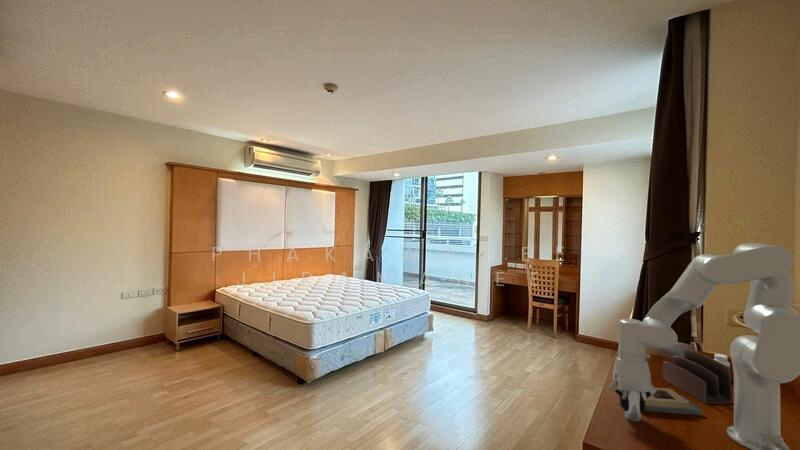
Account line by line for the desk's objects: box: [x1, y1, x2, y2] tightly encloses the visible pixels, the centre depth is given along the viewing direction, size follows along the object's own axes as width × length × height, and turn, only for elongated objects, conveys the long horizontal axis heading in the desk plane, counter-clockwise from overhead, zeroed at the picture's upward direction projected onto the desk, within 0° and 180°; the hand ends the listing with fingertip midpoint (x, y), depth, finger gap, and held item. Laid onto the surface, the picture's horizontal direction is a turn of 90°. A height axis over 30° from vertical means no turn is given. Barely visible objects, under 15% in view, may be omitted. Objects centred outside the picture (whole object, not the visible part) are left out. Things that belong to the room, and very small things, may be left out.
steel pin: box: [624, 391, 642, 423], centre depth 112 cm, size 4×4×10 cm
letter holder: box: [662, 348, 733, 405], centre depth 129 cm, size 10×20×14 cm, turn 179°
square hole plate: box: [644, 387, 703, 416], centre depth 119 cm, size 20×10×5 cm, turn 80°
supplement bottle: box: [713, 353, 731, 370], centre depth 139 cm, size 5×5×10 cm
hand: (632, 409), depth 112 cm, fingers closed on steel pin, 4 cm apart
